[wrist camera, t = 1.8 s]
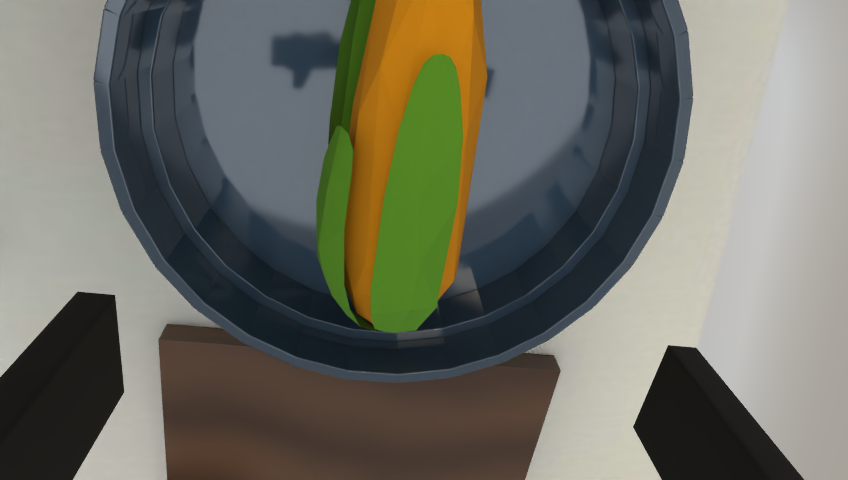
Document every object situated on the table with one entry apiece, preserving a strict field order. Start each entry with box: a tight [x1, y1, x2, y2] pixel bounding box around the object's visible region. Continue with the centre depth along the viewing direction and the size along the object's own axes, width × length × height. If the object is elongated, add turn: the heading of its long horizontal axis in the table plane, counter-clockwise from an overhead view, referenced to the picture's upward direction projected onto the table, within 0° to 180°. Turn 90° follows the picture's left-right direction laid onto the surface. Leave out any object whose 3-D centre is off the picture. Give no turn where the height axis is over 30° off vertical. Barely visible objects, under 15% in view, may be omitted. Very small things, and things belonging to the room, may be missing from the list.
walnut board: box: [159, 325, 560, 480], centre depth 37 cm, size 14×24×2 cm, turn 81°
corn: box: [316, 0, 487, 333], centre depth 25 cm, size 7×8×20 cm
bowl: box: [94, 0, 693, 383], centre depth 26 cm, size 24×24×6 cm
